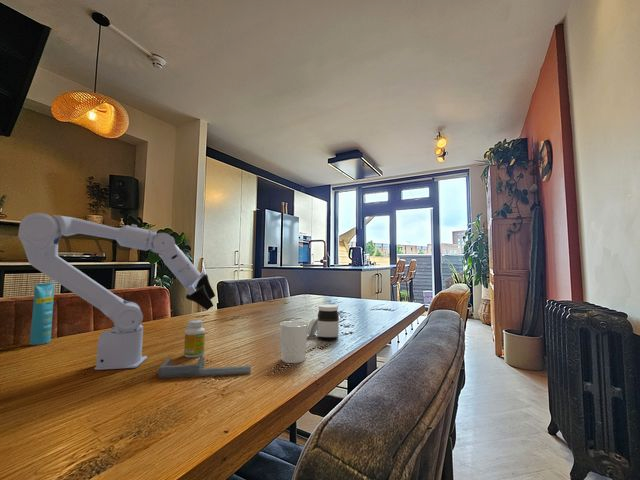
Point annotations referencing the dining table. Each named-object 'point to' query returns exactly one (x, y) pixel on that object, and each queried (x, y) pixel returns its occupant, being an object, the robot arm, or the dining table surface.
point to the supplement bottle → (194, 339)
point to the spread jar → (325, 323)
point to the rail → (197, 370)
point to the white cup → (293, 341)
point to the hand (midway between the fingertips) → (211, 302)
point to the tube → (42, 314)
